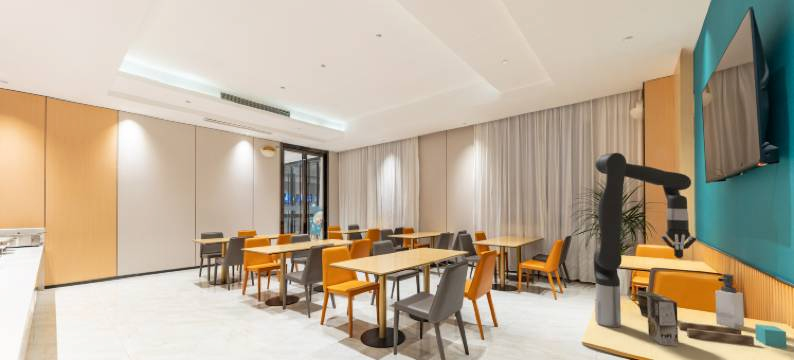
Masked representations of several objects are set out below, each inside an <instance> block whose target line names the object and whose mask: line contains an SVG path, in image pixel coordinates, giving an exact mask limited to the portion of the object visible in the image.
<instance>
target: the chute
mask: <svg viewBox="0 0 794 360" xmlns="http://www.w3.org/2000/svg"><path fill="white" fill-rule="evenodd" d="M678 330H680V331H685V332H686V336H687V337H688V338H691V339H698V340H699V339H701V340H707V341H714V342H715V341H716V342H717V341H718V342H724V343H725V342H726V343H732V344H740V345H749V346H754V345H755V340H754V339H755V338H754V337H755V336H753V335H747V334H742V329H741V328H732V327H727V326H723V325H713V324H712V325H711V324H703V323H696V322H695V323H694V322H687V321H678Z"/></svg>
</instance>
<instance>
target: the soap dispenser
mask: <svg viewBox="0 0 794 360" xmlns="http://www.w3.org/2000/svg"><path fill="white" fill-rule="evenodd" d="M722 276H723V277H718V282H723V285H722V286H721V288H720V289H719V290H715V317H716V319H715V320H716V325H719V326H723V327H732V328H739V327H742V328H744V327H745V315H744V296H743V295H744V293H743V292H739V291H737V288H736V287H733V286H734V274H729V273H722ZM743 326H744V327H743ZM739 329H740V328H739Z"/></svg>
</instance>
